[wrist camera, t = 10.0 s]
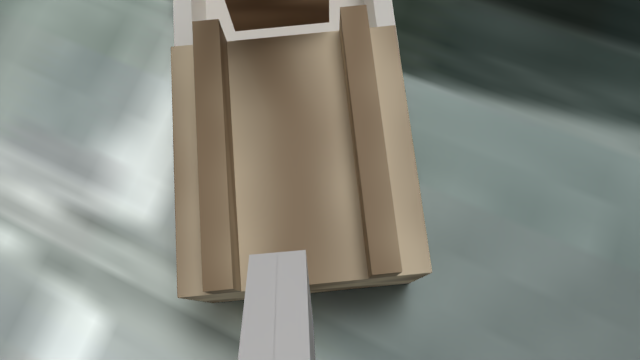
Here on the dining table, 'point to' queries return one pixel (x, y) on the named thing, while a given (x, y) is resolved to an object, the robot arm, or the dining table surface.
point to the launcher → (294, 159)
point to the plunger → (276, 13)
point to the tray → (209, 3)
